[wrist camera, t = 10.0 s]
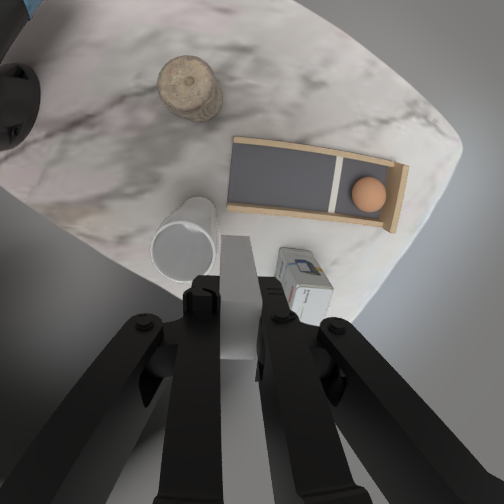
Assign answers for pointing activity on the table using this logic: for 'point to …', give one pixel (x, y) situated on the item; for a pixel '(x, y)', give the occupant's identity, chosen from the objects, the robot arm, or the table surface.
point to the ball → (369, 194)
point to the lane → (310, 182)
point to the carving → (190, 88)
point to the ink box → (304, 285)
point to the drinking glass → (186, 241)
